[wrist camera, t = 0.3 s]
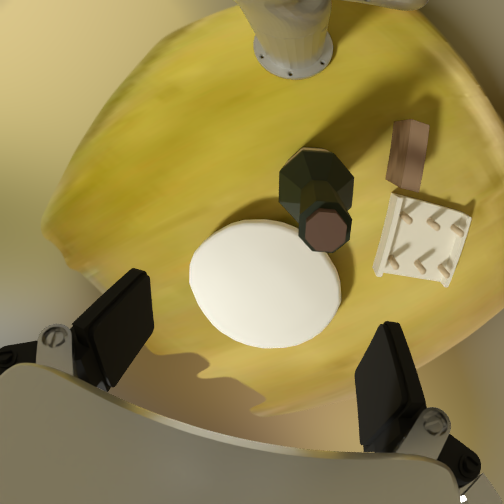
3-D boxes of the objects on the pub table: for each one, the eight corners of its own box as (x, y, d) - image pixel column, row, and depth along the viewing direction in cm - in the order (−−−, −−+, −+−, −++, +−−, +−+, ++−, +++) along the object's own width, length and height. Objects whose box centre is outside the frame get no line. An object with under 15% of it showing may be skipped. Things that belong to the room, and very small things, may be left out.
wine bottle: (345, 159, 40) (419, 203, 13) (323, 204, 44) (349, 313, 17) (298, 136, 40) (289, 131, 13) (277, 182, 44) (232, 260, 17)
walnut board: (393, 121, 36) (411, 119, 29) (409, 126, 36) (429, 125, 28) (385, 179, 40) (400, 187, 33) (401, 183, 40) (418, 192, 32)
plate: (370, 305, 45) (265, 370, 56) (363, 285, 50) (267, 349, 61) (257, 191, 37) (158, 294, 48) (260, 180, 43) (170, 275, 54)
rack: (391, 192, 41) (400, 199, 36) (462, 212, 39) (475, 220, 34) (372, 267, 46) (378, 280, 42) (441, 278, 44) (450, 291, 40)
